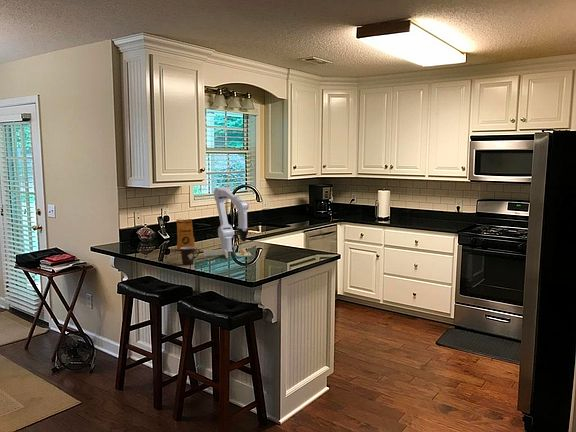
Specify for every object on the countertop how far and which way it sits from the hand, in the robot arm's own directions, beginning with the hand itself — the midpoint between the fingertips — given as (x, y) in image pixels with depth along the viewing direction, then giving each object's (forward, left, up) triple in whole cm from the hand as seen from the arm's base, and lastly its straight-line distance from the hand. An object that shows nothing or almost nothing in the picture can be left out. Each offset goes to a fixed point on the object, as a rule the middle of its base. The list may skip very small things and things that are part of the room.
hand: (243, 240), depth 309 cm
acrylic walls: (+1, -18, -10) cm, 21 cm away
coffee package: (-32, -36, -10) cm, 49 cm away
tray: (0, 0, -10) cm, 10 cm away
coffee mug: (+18, -35, -10) cm, 41 cm away
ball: (0, 0, -10) cm, 10 cm away
